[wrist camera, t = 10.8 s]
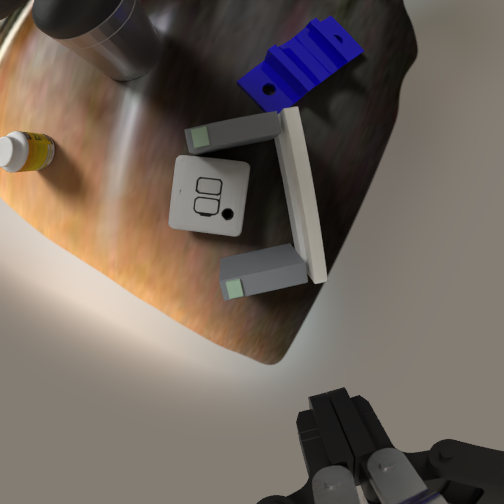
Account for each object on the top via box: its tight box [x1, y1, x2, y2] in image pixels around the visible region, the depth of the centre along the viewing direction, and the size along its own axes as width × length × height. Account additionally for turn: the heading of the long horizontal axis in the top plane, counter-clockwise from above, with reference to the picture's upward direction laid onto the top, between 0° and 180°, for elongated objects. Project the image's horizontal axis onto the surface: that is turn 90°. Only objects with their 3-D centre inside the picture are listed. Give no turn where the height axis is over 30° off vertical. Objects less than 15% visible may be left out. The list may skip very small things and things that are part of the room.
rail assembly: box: [184, 107, 327, 301], centre depth 37 cm, size 20×12×10 cm, turn 11°
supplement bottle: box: [0, 131, 55, 172], centre depth 32 cm, size 6×6×10 cm
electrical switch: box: [168, 155, 250, 237], centre depth 39 cm, size 9×5×9 cm
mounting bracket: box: [237, 16, 364, 114], centre depth 35 cm, size 18×7×6 cm, turn 132°
